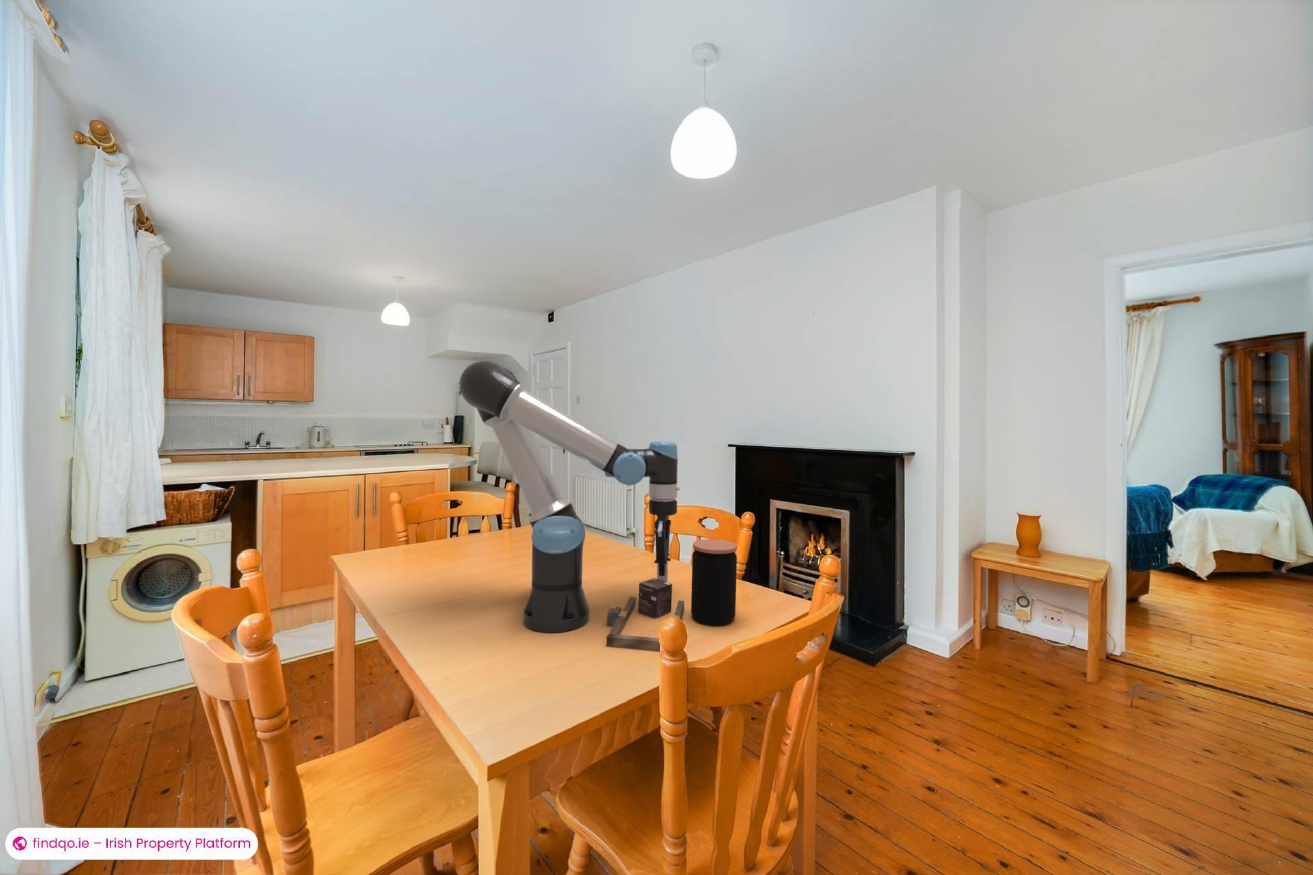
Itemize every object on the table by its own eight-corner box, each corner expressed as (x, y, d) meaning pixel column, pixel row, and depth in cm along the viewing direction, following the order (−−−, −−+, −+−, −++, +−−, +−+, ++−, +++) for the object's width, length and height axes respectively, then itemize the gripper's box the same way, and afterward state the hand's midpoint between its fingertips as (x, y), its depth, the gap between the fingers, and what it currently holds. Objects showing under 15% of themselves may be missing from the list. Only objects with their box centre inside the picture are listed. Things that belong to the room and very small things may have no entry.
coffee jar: (740, 614, 123) (742, 542, 122) (727, 630, 113) (729, 552, 113) (699, 606, 127) (701, 537, 127) (684, 621, 118) (686, 546, 117)
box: (637, 611, 123) (638, 582, 123) (654, 605, 128) (654, 577, 127) (655, 618, 119) (656, 588, 119) (672, 612, 123) (672, 583, 123)
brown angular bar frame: (594, 644, 104) (595, 627, 104) (620, 603, 128) (620, 589, 128) (672, 652, 102) (673, 633, 102) (684, 608, 126) (684, 593, 125)
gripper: (674, 503, 126) (673, 595, 127) (679, 495, 139) (678, 579, 139) (645, 502, 127) (644, 593, 128) (653, 494, 140) (652, 577, 141)
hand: (662, 586), depth 134 cm, fingers closed
